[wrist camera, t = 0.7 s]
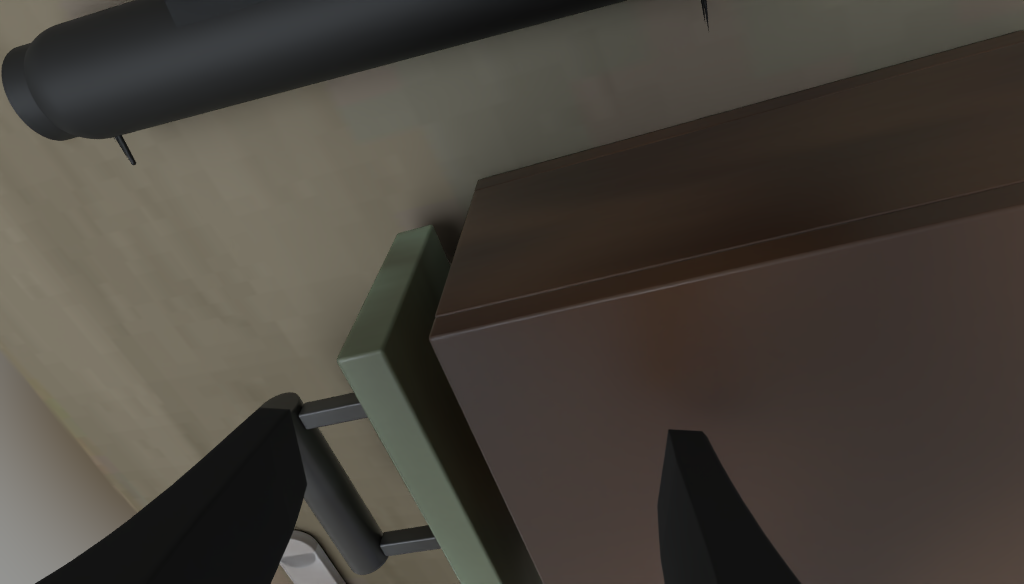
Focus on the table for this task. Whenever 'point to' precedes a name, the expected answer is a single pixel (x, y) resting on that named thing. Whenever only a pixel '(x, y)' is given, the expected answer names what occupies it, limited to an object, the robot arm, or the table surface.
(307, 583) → the grey sheathed bar
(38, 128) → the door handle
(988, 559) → the cabinet
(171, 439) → the table surface
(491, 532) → the drawer
